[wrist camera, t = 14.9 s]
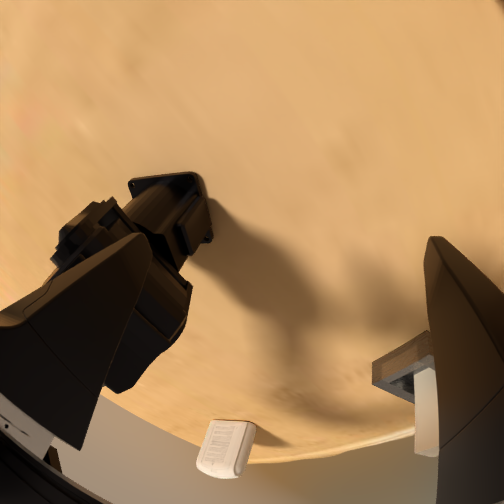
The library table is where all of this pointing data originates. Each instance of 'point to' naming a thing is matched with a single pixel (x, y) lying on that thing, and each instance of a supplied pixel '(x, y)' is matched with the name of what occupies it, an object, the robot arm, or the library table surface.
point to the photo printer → (226, 448)
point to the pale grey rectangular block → (426, 413)
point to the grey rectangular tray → (404, 367)
